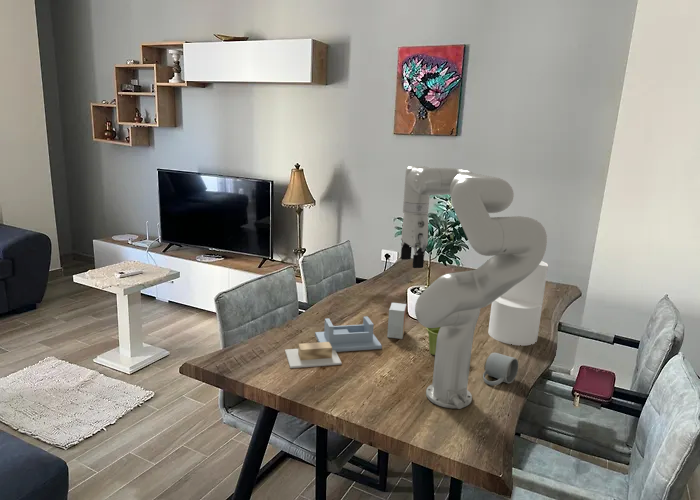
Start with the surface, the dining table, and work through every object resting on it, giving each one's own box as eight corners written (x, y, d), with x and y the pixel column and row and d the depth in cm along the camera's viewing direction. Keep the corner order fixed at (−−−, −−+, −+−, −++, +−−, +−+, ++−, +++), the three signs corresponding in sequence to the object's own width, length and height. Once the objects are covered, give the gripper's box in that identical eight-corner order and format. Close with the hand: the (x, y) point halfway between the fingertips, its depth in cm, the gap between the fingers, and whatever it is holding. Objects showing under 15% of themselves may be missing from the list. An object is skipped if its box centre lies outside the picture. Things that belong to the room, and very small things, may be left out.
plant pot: (431, 360, 165) (433, 335, 163) (420, 348, 174) (422, 324, 172) (457, 358, 168) (460, 333, 166) (445, 346, 177) (447, 322, 175)
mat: (341, 364, 160) (341, 362, 159) (290, 368, 156) (290, 366, 155) (333, 347, 171) (333, 346, 171) (285, 351, 167) (285, 349, 167)
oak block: (328, 351, 166) (329, 341, 166) (331, 357, 162) (332, 347, 161) (298, 353, 164) (298, 343, 163) (300, 360, 160) (300, 349, 159)
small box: (402, 339, 180) (404, 311, 178) (386, 337, 181) (388, 309, 179) (404, 330, 188) (407, 303, 185) (389, 329, 189) (391, 302, 186)
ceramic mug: (493, 369, 161) (495, 346, 159) (517, 378, 156) (520, 355, 154) (475, 380, 154) (478, 357, 152) (500, 391, 149) (503, 367, 147)
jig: (369, 332, 185) (370, 312, 183) (381, 348, 172) (383, 327, 170) (315, 335, 180) (315, 315, 178) (323, 352, 167) (323, 331, 165)
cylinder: (495, 322, 200) (504, 253, 193) (541, 333, 192) (552, 261, 185) (482, 337, 185) (491, 262, 179) (531, 349, 177) (542, 272, 170)
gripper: (439, 213, 146) (434, 270, 150) (416, 203, 162) (412, 256, 166) (415, 213, 144) (410, 271, 148) (393, 203, 160) (390, 256, 164)
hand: (411, 263), depth 157 cm, fingers open, 9 cm apart
